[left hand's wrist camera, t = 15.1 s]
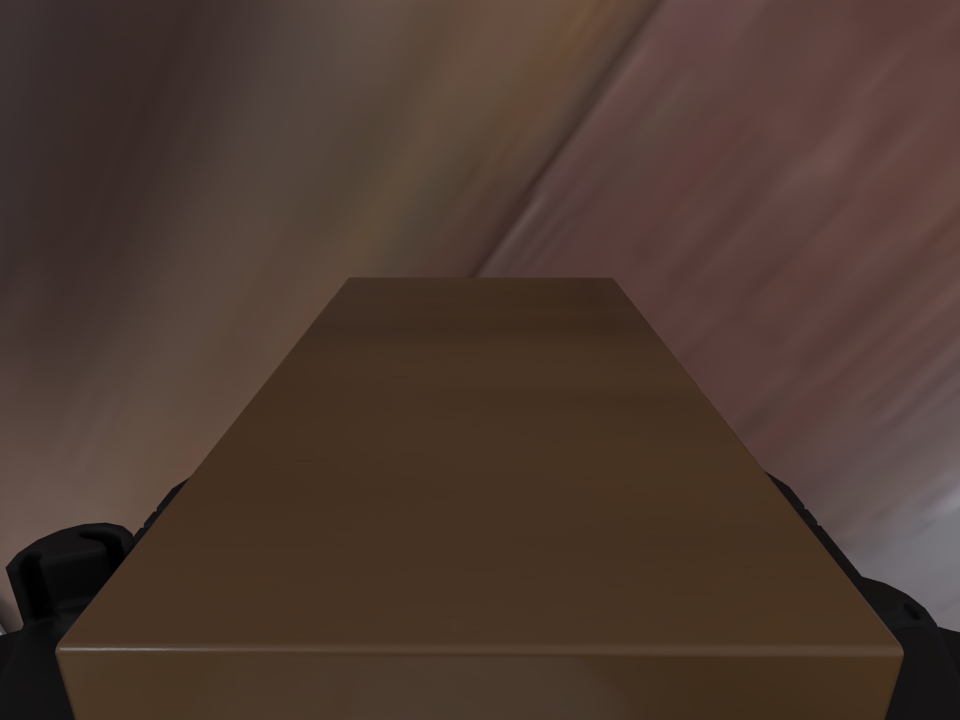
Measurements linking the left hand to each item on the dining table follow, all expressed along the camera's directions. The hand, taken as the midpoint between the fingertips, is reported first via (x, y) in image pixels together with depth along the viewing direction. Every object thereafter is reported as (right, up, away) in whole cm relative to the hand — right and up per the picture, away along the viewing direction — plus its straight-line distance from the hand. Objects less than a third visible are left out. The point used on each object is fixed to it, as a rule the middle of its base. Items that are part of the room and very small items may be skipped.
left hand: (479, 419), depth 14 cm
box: (0, -9, +5) cm, 10 cm away
